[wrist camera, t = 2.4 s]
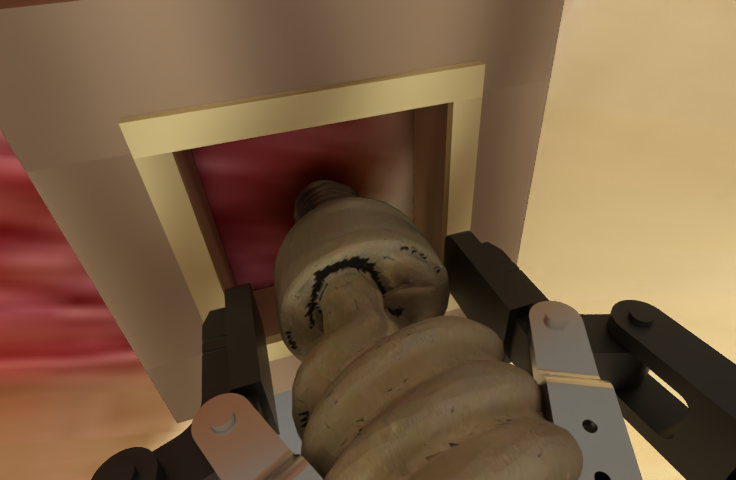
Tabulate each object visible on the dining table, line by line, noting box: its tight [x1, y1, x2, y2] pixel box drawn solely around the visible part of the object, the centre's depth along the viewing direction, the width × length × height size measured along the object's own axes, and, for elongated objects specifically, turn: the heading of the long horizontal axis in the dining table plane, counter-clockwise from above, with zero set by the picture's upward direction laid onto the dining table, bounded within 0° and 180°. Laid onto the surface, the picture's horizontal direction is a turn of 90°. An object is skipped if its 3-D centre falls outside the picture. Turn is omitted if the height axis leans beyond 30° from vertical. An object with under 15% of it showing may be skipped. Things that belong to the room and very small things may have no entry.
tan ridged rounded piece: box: [274, 179, 583, 480], centre depth 12 cm, size 6×6×15 cm
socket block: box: [0, 0, 564, 423], centre depth 17 cm, size 16×16×3 cm
